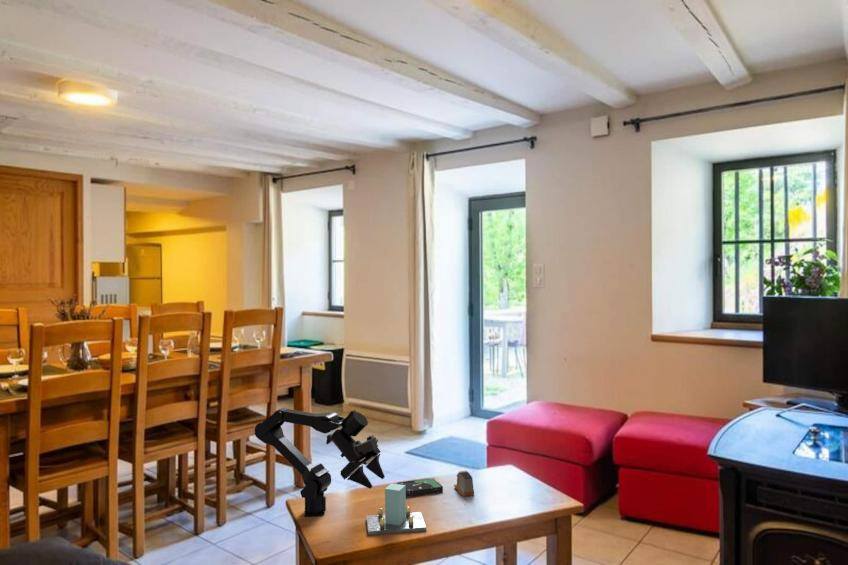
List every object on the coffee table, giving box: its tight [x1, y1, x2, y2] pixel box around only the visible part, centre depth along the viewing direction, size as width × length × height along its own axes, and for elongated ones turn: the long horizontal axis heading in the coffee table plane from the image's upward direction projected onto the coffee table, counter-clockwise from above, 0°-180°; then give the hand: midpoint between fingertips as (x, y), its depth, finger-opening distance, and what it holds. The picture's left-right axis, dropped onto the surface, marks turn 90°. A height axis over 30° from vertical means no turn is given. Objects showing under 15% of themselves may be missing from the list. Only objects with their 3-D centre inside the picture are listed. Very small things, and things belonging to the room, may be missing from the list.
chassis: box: [365, 505, 427, 536], centre depth 184 cm, size 18×12×4 cm, turn 98°
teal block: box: [384, 483, 407, 526], centre depth 184 cm, size 5×5×11 cm
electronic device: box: [453, 470, 475, 498], centre depth 212 cm, size 4×10×8 cm, turn 19°
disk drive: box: [396, 477, 444, 498], centre depth 214 cm, size 10×3×15 cm
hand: (377, 482), depth 186 cm, fingers open, 9 cm apart
